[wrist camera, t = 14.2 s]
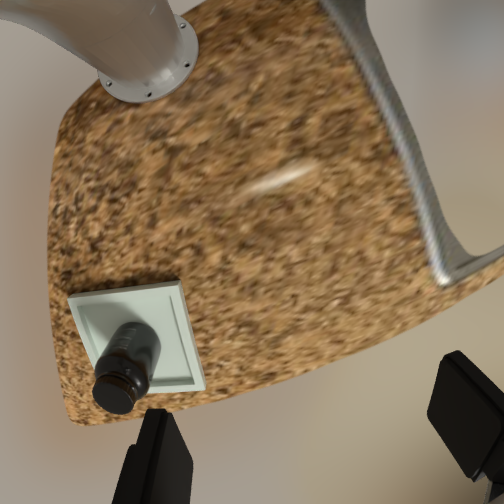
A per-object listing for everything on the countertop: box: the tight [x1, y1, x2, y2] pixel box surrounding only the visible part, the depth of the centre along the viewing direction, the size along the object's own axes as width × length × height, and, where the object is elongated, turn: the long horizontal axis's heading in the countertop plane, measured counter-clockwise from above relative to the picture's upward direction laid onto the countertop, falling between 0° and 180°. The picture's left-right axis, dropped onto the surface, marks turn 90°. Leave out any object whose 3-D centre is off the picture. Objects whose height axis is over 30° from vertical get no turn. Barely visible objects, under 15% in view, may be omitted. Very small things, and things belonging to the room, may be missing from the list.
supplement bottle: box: [92, 322, 161, 415], centre depth 33 cm, size 7×7×12 cm
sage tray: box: [67, 280, 206, 393], centre depth 38 cm, size 16×16×2 cm
